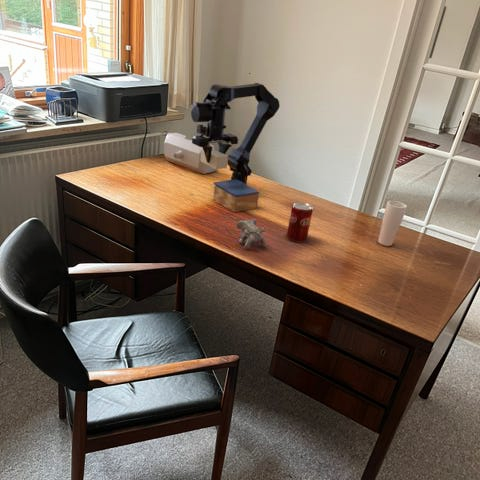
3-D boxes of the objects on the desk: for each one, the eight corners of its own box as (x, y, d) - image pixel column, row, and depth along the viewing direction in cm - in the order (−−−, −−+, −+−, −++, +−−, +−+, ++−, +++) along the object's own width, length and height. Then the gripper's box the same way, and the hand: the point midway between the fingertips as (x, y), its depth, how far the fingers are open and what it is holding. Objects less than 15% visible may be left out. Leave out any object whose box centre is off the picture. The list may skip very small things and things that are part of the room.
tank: (155, 162, 222) (155, 134, 215) (179, 157, 233) (180, 130, 226) (194, 177, 210) (196, 148, 203) (218, 171, 221) (220, 144, 214)
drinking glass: (384, 248, 170) (396, 208, 161) (371, 240, 175) (383, 201, 166) (398, 246, 173) (411, 207, 164) (385, 238, 177) (397, 199, 169)
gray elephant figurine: (251, 253, 154) (254, 231, 150) (224, 239, 160) (226, 218, 156) (268, 245, 161) (272, 224, 156) (242, 233, 167) (245, 212, 162)
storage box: (213, 200, 190) (214, 185, 187) (235, 196, 197) (237, 182, 194) (234, 212, 182) (236, 197, 179) (257, 207, 189) (259, 193, 185)
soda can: (308, 237, 170) (315, 205, 164) (304, 244, 165) (310, 211, 158) (289, 232, 172) (295, 200, 165) (284, 239, 166) (289, 206, 160)
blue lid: (213, 184, 187) (213, 182, 187) (236, 180, 194) (236, 178, 193) (235, 197, 179) (236, 195, 178) (259, 193, 185) (259, 191, 185)
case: (200, 161, 195) (201, 149, 192) (211, 160, 198) (212, 148, 195) (215, 169, 188) (217, 157, 185) (226, 168, 191) (228, 156, 188)
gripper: (224, 115, 194) (220, 154, 202) (185, 117, 183) (183, 158, 192) (240, 122, 187) (236, 162, 196) (201, 124, 176) (198, 166, 185)
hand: (213, 162), depth 192 cm, fingers closed on case, 5 cm apart
